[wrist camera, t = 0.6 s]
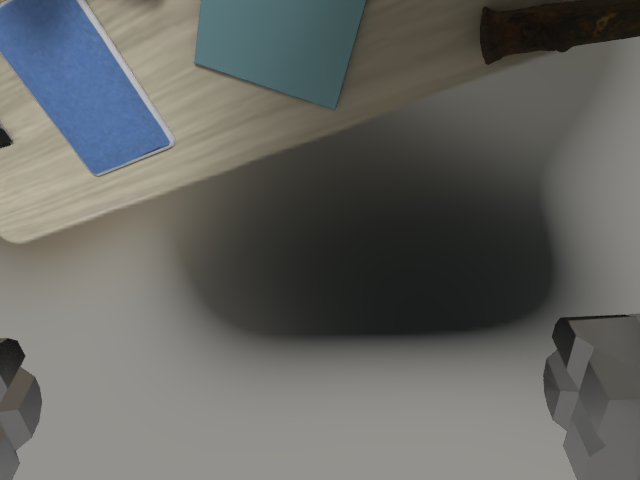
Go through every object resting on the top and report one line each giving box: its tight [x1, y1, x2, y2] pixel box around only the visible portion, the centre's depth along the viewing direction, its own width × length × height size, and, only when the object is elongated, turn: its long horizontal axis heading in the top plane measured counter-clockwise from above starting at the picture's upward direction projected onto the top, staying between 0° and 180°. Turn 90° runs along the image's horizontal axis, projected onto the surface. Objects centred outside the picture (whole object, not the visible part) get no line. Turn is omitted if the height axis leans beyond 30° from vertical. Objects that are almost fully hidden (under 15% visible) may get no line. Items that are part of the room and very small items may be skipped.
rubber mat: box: [194, 0, 366, 110], centre depth 51 cm, size 14×14×1 cm
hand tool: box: [480, 0, 640, 65], centre depth 44 cm, size 19×4×5 cm, turn 100°
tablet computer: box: [0, 0, 176, 176], centre depth 61 cm, size 19×13×1 cm, turn 27°
